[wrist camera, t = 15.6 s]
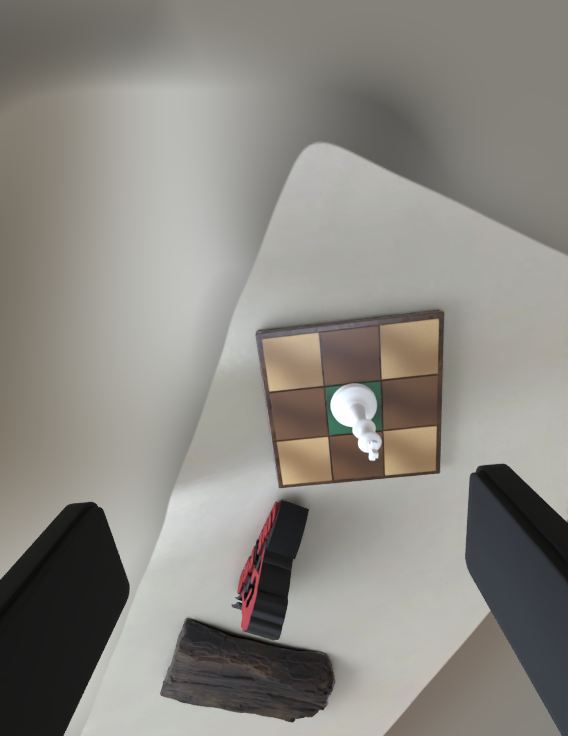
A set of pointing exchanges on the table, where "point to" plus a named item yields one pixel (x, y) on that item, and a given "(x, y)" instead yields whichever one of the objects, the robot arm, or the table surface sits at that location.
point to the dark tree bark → (246, 675)
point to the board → (345, 366)
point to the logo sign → (271, 571)
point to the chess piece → (358, 415)
